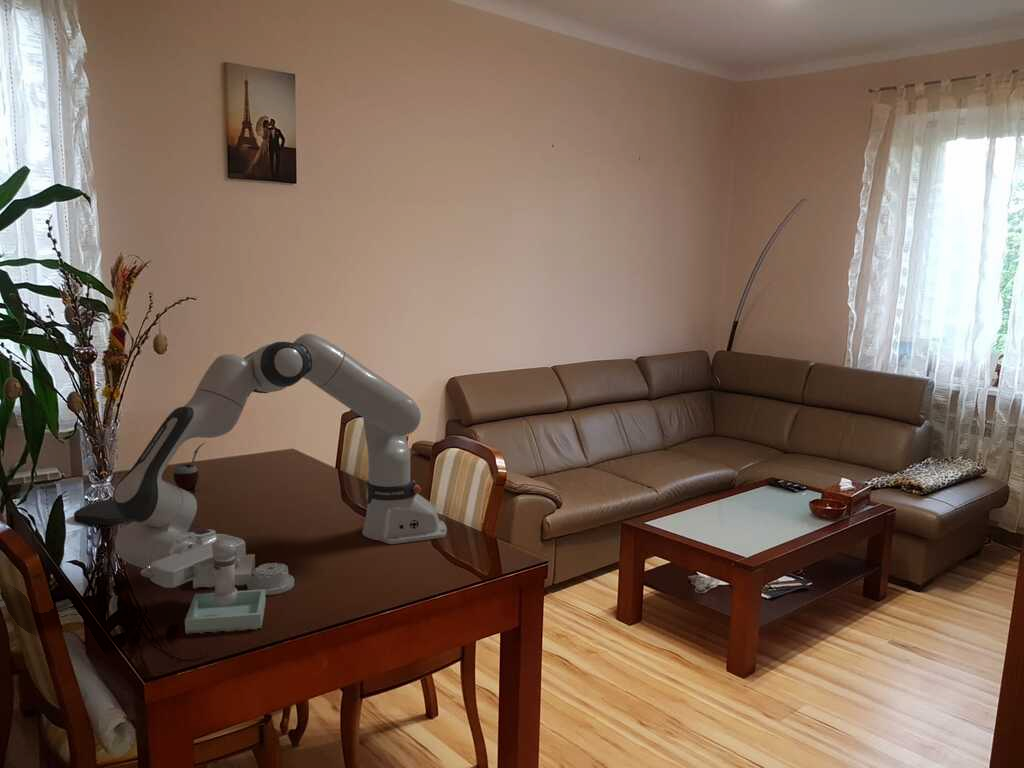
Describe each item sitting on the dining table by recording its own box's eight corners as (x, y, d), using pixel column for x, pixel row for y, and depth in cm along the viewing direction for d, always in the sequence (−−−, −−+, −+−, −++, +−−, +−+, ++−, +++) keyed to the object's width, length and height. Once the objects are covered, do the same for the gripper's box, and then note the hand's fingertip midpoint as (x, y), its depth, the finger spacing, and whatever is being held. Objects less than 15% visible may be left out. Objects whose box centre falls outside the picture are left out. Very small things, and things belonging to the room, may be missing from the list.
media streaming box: (115, 528, 207) (114, 517, 207) (67, 523, 210) (66, 512, 210) (150, 511, 222) (150, 501, 221) (105, 506, 224) (105, 496, 224)
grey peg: (234, 594, 160) (232, 538, 158) (239, 602, 156) (238, 545, 154) (211, 598, 158) (210, 542, 156) (216, 607, 154) (215, 549, 152)
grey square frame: (255, 564, 185) (254, 554, 185) (250, 584, 174) (250, 574, 173) (201, 567, 182) (201, 557, 182) (193, 588, 171) (192, 577, 170)
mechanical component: (281, 574, 180) (239, 585, 174) (281, 556, 180) (239, 566, 173) (302, 588, 173) (259, 600, 166) (302, 569, 172) (259, 581, 166)
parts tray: (265, 602, 165) (265, 589, 164) (261, 628, 153) (260, 614, 153) (195, 607, 162) (194, 593, 161) (185, 634, 150) (184, 620, 150)
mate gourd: (169, 493, 237) (167, 445, 235) (187, 486, 245) (185, 440, 242) (189, 496, 235) (187, 447, 233) (207, 489, 243) (205, 442, 240)
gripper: (134, 556, 152) (185, 571, 146) (216, 526, 170) (264, 538, 164) (136, 587, 153) (186, 602, 147) (217, 554, 171) (264, 566, 165)
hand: (228, 568), depth 155 cm, fingers closed on grey peg, 4 cm apart
